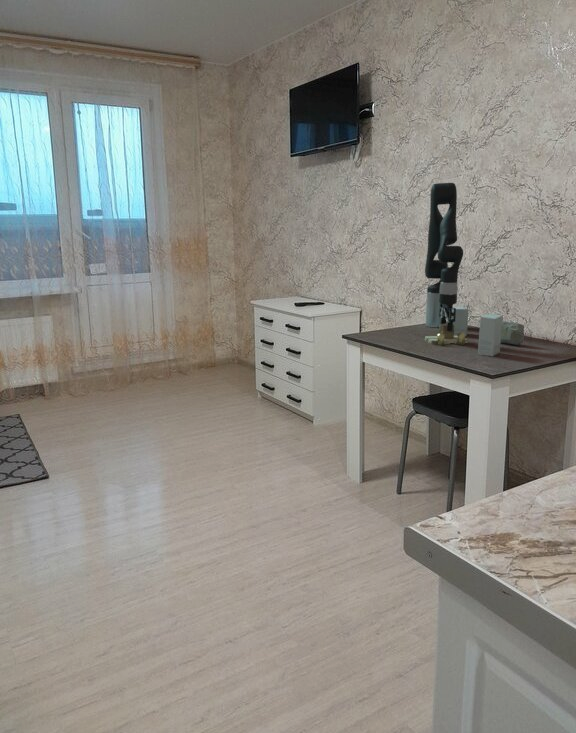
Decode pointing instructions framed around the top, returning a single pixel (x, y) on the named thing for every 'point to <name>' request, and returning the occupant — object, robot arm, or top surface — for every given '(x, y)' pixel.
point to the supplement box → (461, 321)
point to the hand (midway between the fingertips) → (446, 329)
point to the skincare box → (490, 334)
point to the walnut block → (444, 330)
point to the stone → (512, 333)
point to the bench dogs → (442, 336)
